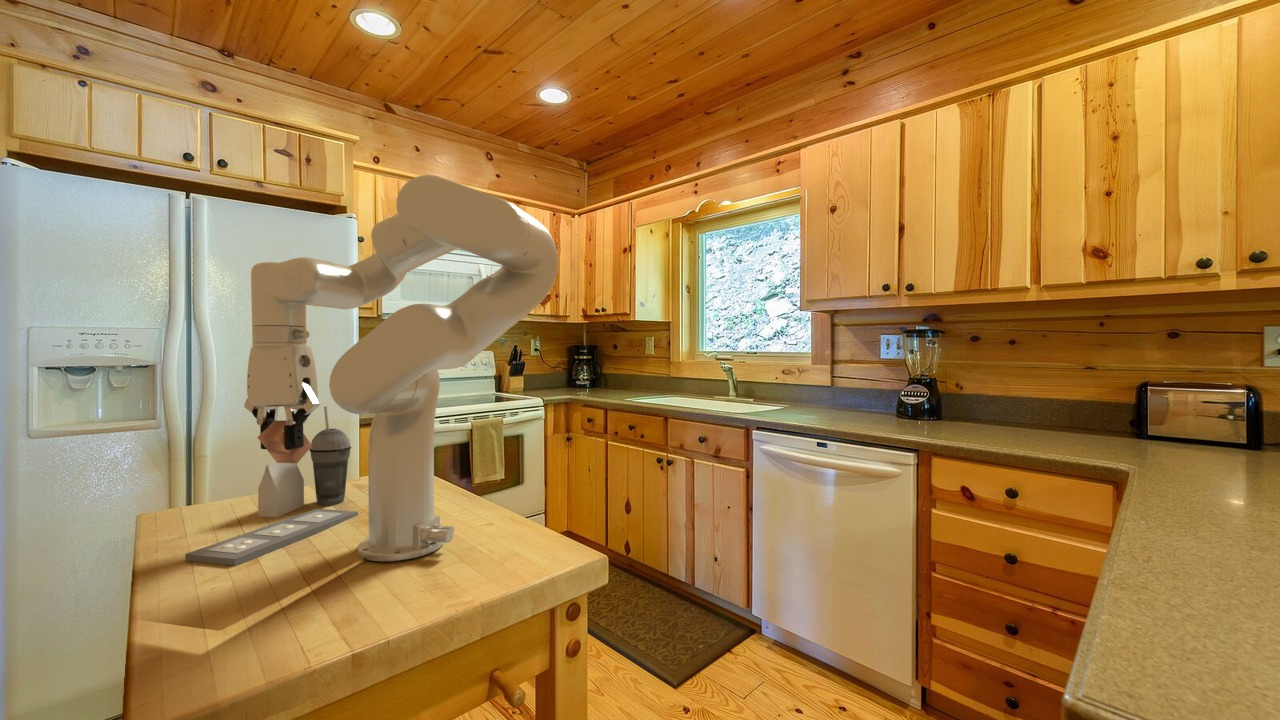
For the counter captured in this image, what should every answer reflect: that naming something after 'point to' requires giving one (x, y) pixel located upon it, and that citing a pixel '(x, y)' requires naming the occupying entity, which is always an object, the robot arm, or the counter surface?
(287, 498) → the gable top carton
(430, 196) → the robot arm
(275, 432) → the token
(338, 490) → the beverage cup
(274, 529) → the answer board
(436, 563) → the counter surface
